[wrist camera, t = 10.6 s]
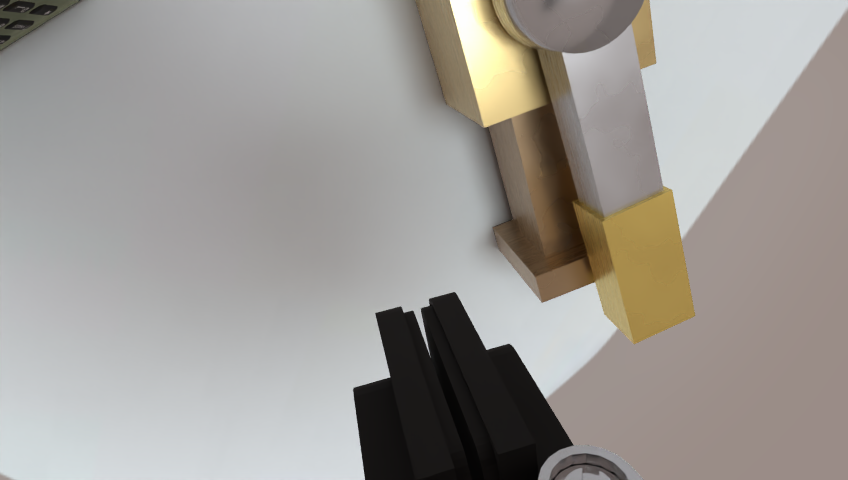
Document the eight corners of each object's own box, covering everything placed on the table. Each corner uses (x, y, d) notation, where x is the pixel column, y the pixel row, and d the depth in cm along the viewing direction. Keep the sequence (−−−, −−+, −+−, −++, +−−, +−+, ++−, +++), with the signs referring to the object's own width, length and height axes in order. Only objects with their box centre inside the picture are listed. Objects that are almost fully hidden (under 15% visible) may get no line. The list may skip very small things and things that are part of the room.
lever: (471, -64, 16) (495, -78, 14) (596, -120, 16) (639, -142, 14) (588, 321, 23) (616, 352, 21) (675, 281, 23) (712, 307, 21)
